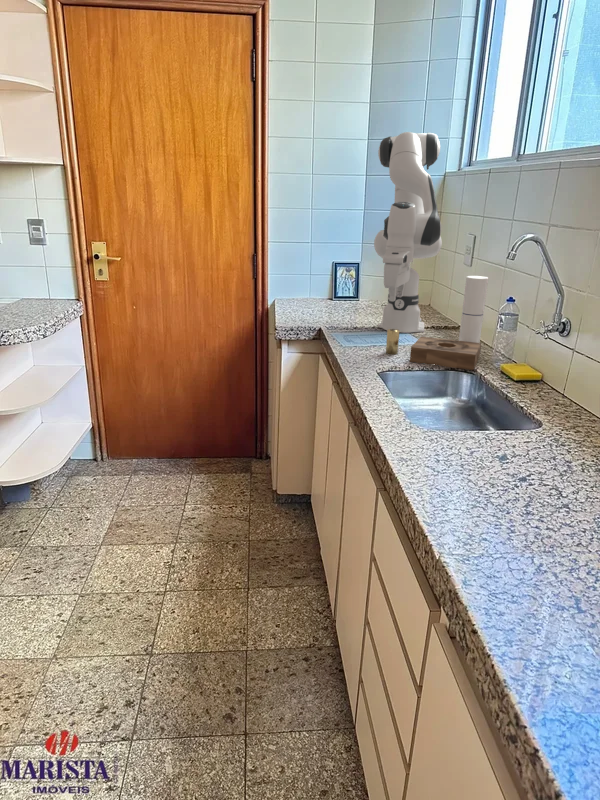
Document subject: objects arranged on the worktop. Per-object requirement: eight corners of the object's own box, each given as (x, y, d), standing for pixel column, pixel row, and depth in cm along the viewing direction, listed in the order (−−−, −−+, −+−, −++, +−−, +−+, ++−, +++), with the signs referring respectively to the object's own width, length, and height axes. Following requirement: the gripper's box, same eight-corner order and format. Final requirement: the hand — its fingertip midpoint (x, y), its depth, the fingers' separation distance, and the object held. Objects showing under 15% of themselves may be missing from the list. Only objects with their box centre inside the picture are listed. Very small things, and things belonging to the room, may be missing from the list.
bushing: (387, 351, 191) (389, 328, 188) (398, 352, 189) (400, 329, 186) (384, 353, 187) (386, 330, 184) (395, 355, 186) (397, 331, 183)
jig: (419, 350, 192) (421, 336, 191) (479, 357, 185) (481, 343, 183) (409, 361, 178) (411, 346, 177) (473, 370, 171) (475, 354, 169)
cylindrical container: (456, 349, 194) (465, 277, 186) (459, 345, 201) (467, 275, 192) (477, 352, 192) (487, 279, 183) (479, 347, 198) (489, 276, 190)
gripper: (397, 253, 187) (394, 294, 192) (381, 257, 170) (378, 302, 174) (415, 254, 185) (412, 295, 190) (401, 258, 167) (398, 304, 172)
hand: (395, 299), depth 182 cm, fingers open, 8 cm apart
